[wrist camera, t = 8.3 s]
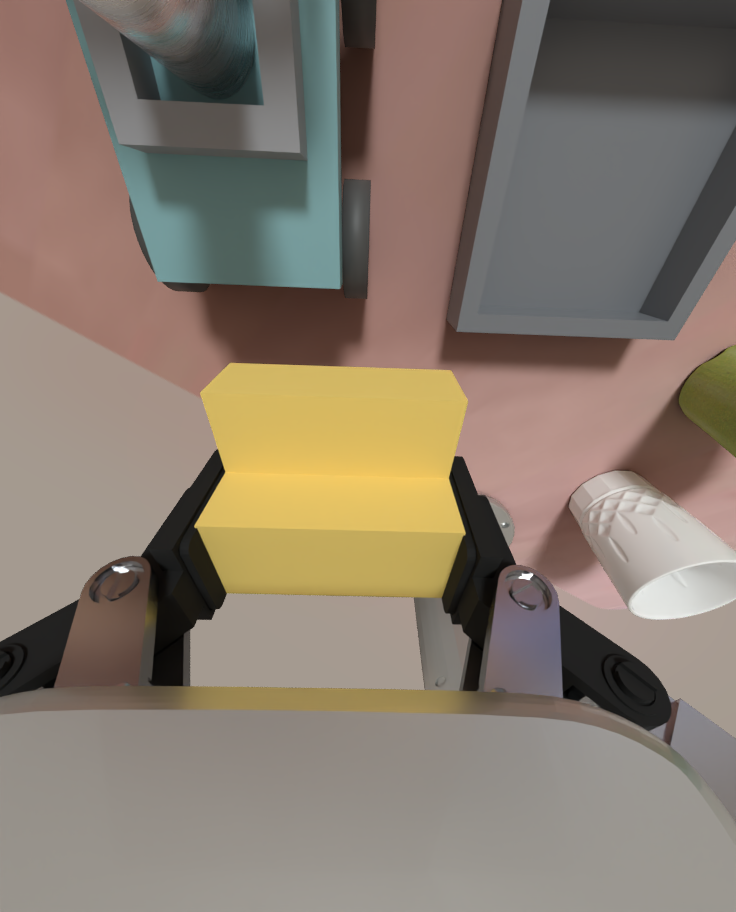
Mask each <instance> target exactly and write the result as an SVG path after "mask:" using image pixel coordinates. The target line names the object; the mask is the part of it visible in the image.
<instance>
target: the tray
mask: <svg viewBox="0 0 736 912" xmlns="http://www.w3.org/2000/svg"><path fill="white" fill-rule="evenodd" d="M735 241H736V0H502V6H501V12H500V17H499V23H498V29H497V35H496V40H495V46H494V52H493V57H492V63H491V69H490V74H489V80H488V86H487V91H486V97H485V103H484V108H483V114H482V120H481V125H480V131H479V137H478V142H477V148H476V154H475V159H474V165H473V171H472V176H471V182H470V188H469V193H468V199H467V205H466V211H465V216H464V222H463V228H462V233H461V239H460V245H459V250H458V256H457V262H456V267H455V273H454V279H453V284H452V290H451V296H450V301H449V307H448V313H447V318H446V320H447V321H448V322H449V323H450V324H451V326H452V327H453V328H454V329H455V331H456V332H477V333H502V334H528V335H554V336H579V337H605V338H631V339H656V340H675V338H676V337H677V335H678V333H679V332H680V330H681V328H682V327H683V325H684V323H685V322H686V320H687V319H688V317H689V315H690V314H691V312H692V310H693V309H694V307H695V306H696V304H697V302H698V301H699V299H700V297H701V296H702V294H703V293H704V291H705V289H706V288H707V286H708V284H709V283H710V281H711V280H712V278H713V276H714V275H715V273H716V271H717V270H718V268H719V267H720V265H721V263H722V262H723V260H724V258H725V257H726V255H727V254H728V252H729V250H730V249H731V247H732V245H733V244H734V242H735Z"/></svg>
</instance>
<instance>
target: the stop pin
mask: <svg viewBox="0 0 736 912" xmlns="http://www.w3.org/2000/svg"><path fill="white" fill-rule="evenodd" d="M79 1H80V2H82V3H83V4H84V5H86V6H87V7H88V8H89V9H91V10H92V11H93V12H95V13H96V14H97V15H99V16H100V17H101V18H102V19H104V20H105V21H106V22H108V23H109V24H110V25H111V26H113V27H114V28H115V29H117V30H118V31H119V32H120V33H122V34H123V35H124V36H126V37H127V38H128V39H129V40H131V41H132V42H133V43H135V44H136V45H137V46H138V47H140V48H141V49H142V50H144V51H145V52H146V53H147V54H149V55H150V56H151V57H153V58H154V59H155V60H157V61H158V62H159V63H160V64H162V65H163V66H164V67H166V68H167V69H168V70H169V71H171V72H172V73H173V74H175V75H176V76H177V77H178V78H180V79H181V80H182V81H184V82H185V83H186V84H187V85H189V86H190V87H191V88H193V89H194V90H195V91H197V92H198V93H200V94H202V95H204V96H206V97H209V98H214V99H224V98H228V97H230V96H232V95H234V94H236V93H237V92H238V91H239V90H240V89H241V88H242V87H243V85H244V84H245V82H246V81H247V79H248V77H249V74H250V71H251V68H252V65H253V60H254V52H255V33H254V24H253V18H252V13H251V9H250V5H249V2H248V0H79Z"/></svg>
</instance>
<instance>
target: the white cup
mask: <svg viewBox="0 0 736 912" xmlns="http://www.w3.org/2000/svg"><path fill="white" fill-rule="evenodd" d="M569 509H570V511H571V513H572V515H573V517H574V518H575V520H576V521H577V523H578V525H579V526H580V528H581V530H582V534H583V535H584V537H585V538H586V540H587V541H588V543H589V545H590V547H591V549H592V550H593V552H594V553H595V555H596V557H597V559H598V561H599V562H600V564H601V566H602V567H603V569H604V570H605V572H606V574H607V575H608V577H609V578H610V580H611V582H612V583H613V585H614V586H615V588H616V590H617V591H618V593H619V594H620V596H621V598H622V599H623V601H624V603H625V604H626V606H627V607H628V609H629V611H630V612H631V613H632V614H634V615H636V616H638V617H641V618H645V619H653V620H668V619H678V618H684V617H689V616H693V615H697V614H701V613H705V612H708V611H711V610H714V609H716V608H719V607H721V606H724V605H726V604H728V603H730V602H732V601H734V600H736V551H735V550H734V549H733V548H731V547H730V546H729V545H728V544H727V543H725V542H724V541H723V540H722V539H721V538H719V537H718V536H717V535H716V534H715V533H713V532H712V531H711V530H710V529H709V528H707V527H706V526H705V525H704V524H702V523H701V522H700V521H699V520H698V519H696V518H695V517H694V516H692V515H691V514H690V513H688V512H687V511H686V510H685V509H684V508H682V507H681V506H680V505H678V504H677V503H676V502H674V501H673V500H672V499H671V498H670V497H668V496H667V495H666V494H664V493H663V492H660V491H659V490H658V489H657V488H655V487H654V486H653V485H652V484H651V483H649V482H648V481H647V480H646V479H645V478H643V477H642V476H640V475H638V474H636V473H635V472H633V471H617V470H616V471H611V472H608V473H604V474H601V475H597V476H595V477H594V478H592V479H590V480H588V481H587V482H585V483H583V484H582V485H581V486H580V487H579V488H578V489H577V490H576V491H575V492H574V493H573V494H572V496H571V499H570V503H569Z"/></svg>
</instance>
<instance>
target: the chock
mask: <svg viewBox="0 0 736 912" xmlns="http://www.w3.org/2000/svg"><path fill="white" fill-rule="evenodd" d="M200 394H201V397H202V400H203V403H204V407H205V410H206V413H207V416H208V419H209V422H210V425H211V428H212V431H213V434H214V438H215V441H216V444H217V447H218V450H219V453H220V456H221V460H222V463H223V466H224V469H225V474H224V476H223V477H222V479H221V481H220V483H219V484H218V486H217V488H216V490H215V491H214V493H213V495H212V496H211V498H210V500H209V502H208V503H207V505H206V507H205V508H204V510H203V512H202V514H201V515H200V517H199V519H198V520H197V522H196V524H195V526H194V527H195V528H197V529H198V531H199V533H200V536H201V538H202V540H203V542H204V544H205V547H206V549H207V551H208V553H209V555H210V558H211V560H212V562H213V564H214V567H215V569H216V571H217V573H218V575H219V578H220V580H221V582H222V584H223V586H224V589H225V591H226V593H241V594H242V593H243V594H284V595H286V594H287V595H290V594H291V595H330V596H376V597H421V598H442V596H443V593H444V590H445V587H446V584H447V581H448V578H449V575H450V573H451V570H452V567H453V564H454V561H455V558H456V555H457V552H458V549H459V546H460V544H461V541H462V538H463V535H465V534H466V533H465V529H464V526H463V523H462V520H461V517H460V513H459V510H458V507H457V504H456V500H455V497H454V494H453V491H452V488H451V484H450V481H449V475H450V471H451V467H452V463H453V460H454V456H455V452H456V448H457V444H458V440H459V436H460V432H461V428H462V424H463V420H464V416H465V412H466V408H467V404H468V400H467V398H466V397H465V395H464V393H463V391H462V389H461V388H460V386H459V384H458V382H457V380H456V378H455V377H454V375H453V373H452V371H451V370H426V369H397V368H367V367H337V366H308V365H278V364H248V363H230V364H229V365H228V366H227V367H226V368H225V369H224V370H222V371H221V372H220V373H219V374H218V375H217V376H216V377H215V378H214V379H213V380H212V381H211V382H210V383H209V384H208V385H207V386H206V387H205V388H204V389H203V390H202V391H201V392H200Z"/></svg>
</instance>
